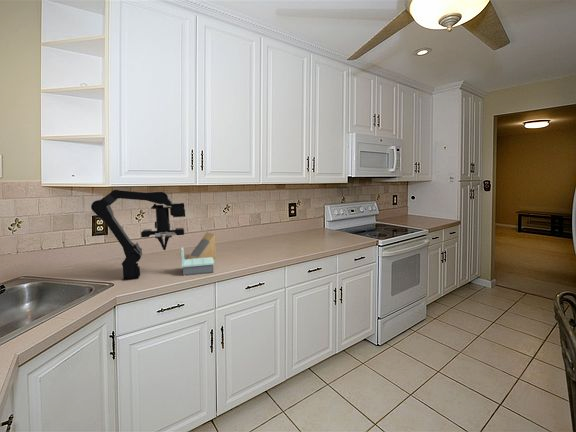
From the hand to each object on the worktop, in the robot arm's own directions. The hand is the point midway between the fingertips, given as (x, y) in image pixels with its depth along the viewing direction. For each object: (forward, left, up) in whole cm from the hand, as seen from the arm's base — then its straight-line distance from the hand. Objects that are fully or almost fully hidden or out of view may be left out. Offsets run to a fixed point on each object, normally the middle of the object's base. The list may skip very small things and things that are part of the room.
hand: (164, 249), depth 141 cm
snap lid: (+15, -2, -8) cm, 17 cm away
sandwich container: (+18, +17, -12) cm, 28 cm away
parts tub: (+15, -2, -12) cm, 19 cm away
